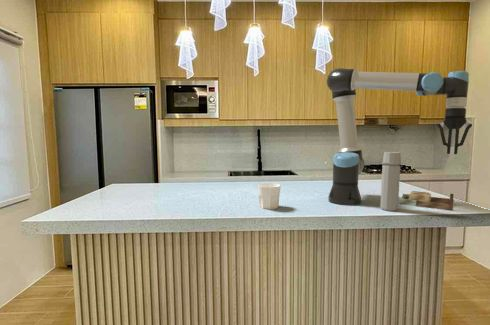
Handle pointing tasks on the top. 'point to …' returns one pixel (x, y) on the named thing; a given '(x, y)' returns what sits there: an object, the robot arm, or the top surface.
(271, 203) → the cup
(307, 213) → the top surface
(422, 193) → the crate
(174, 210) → the top surface
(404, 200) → the bay
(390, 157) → the water bottle
